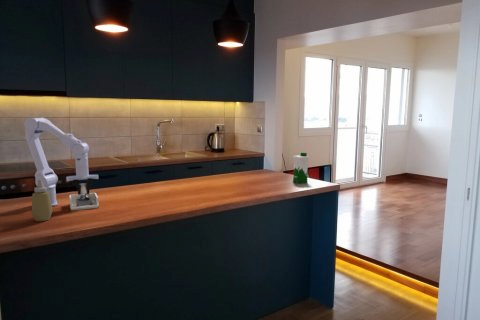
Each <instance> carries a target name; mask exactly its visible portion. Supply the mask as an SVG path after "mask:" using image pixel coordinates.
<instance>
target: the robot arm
mask: <svg viewBox="0 0 480 320" xmlns="http://www.w3.org/2000/svg"><path fill="white" fill-rule="evenodd" d="M23 127H24V130H25V132H24V137H25V140H26V143H27V146H28V149H29V151H30V154H31V156H32V157H31V158H32V160H33V163H34V165H35V169H36V171H35V174H34V177H35V178H34V179H35V185H36V186H37V184H38V180H39V179H41V180H42V183H43V186H44V187H46V188H47V191H46V192H49V195H50V200H51V206H52V207H55V206H58V201H57V193H56V186H57V184H58V181H59V177H58V175H57V174H56V173H55V172H54V169H52V168H51V167H50V166H49V163H48V161H47V157H46V155H45V152H44V148H43V146H42V144H41V141H40V136H41V134H42V133H44V132H45V131H46V132H47V133H50V134H51V135H53V136H55V137H57V138H58V139H59V140H60V143H61V144H63V145H64V146H66V148H69V149H70V150H71V152H72V153H73V155H74V159H75V175H69V176H66V177H65V179H66V182H71V181H72V182H73V184H74V186H75V188H76V190H77V194H78V195H80V191H79V184H80V181H83V180H84V181H85V180H86V184H87V194H89V193H90V189H91V187H92V184H93V182H94V179H95V180H99V178H100V177H99V174H89V173H90V171H89V156H88V155H89V152H90V149H91V148H90V145H89V144H88V143H87V142H85V141H84V142H83V141H82V140H80V139H78V138H76V137H75V136H74V134H73V133H65V132H63V131H62V130H61V129H60V128H59V127H57V126H56V125H54V124H53V123H52V122H51V120H49V119H47V118H46V117H44V116H43V117H42V116H41V117H28V118H27V119H26V120H25V121H24V124H23Z"/></svg>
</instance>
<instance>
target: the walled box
mask: <svg viewBox="0 0 480 320" xmlns="http://www.w3.org/2000/svg"><path fill="white" fill-rule="evenodd" d="M68 196H69V197H68V198H69V207H70V211H72V212H73V211H81V210H83V211H84V210H90V209H100V205H99V196H98V194H97V193H96V192H89V194H88V198H91V199H92V205H88V206H79V207H77V206H76V199H80V195H78V193H76V194H69V195H68Z"/></svg>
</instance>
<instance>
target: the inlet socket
mask: <svg viewBox="0 0 480 320" xmlns="http://www.w3.org/2000/svg"><path fill="white" fill-rule="evenodd" d="M88 205H92V199H91V198H86V199H76V206H77V207H79V206H88Z"/></svg>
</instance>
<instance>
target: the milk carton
mask: <svg viewBox="0 0 480 320" xmlns="http://www.w3.org/2000/svg"><path fill="white" fill-rule="evenodd" d="M309 158H310V156H309V155H308V154H307V152H300V155H298V154H297V155H293V157H292V159H293V174H292V175H293V176H292V178H293V179H292V183H295V184H298V185H301V184H308V169H309V167H308V165H309V164H308V163H309Z"/></svg>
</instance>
